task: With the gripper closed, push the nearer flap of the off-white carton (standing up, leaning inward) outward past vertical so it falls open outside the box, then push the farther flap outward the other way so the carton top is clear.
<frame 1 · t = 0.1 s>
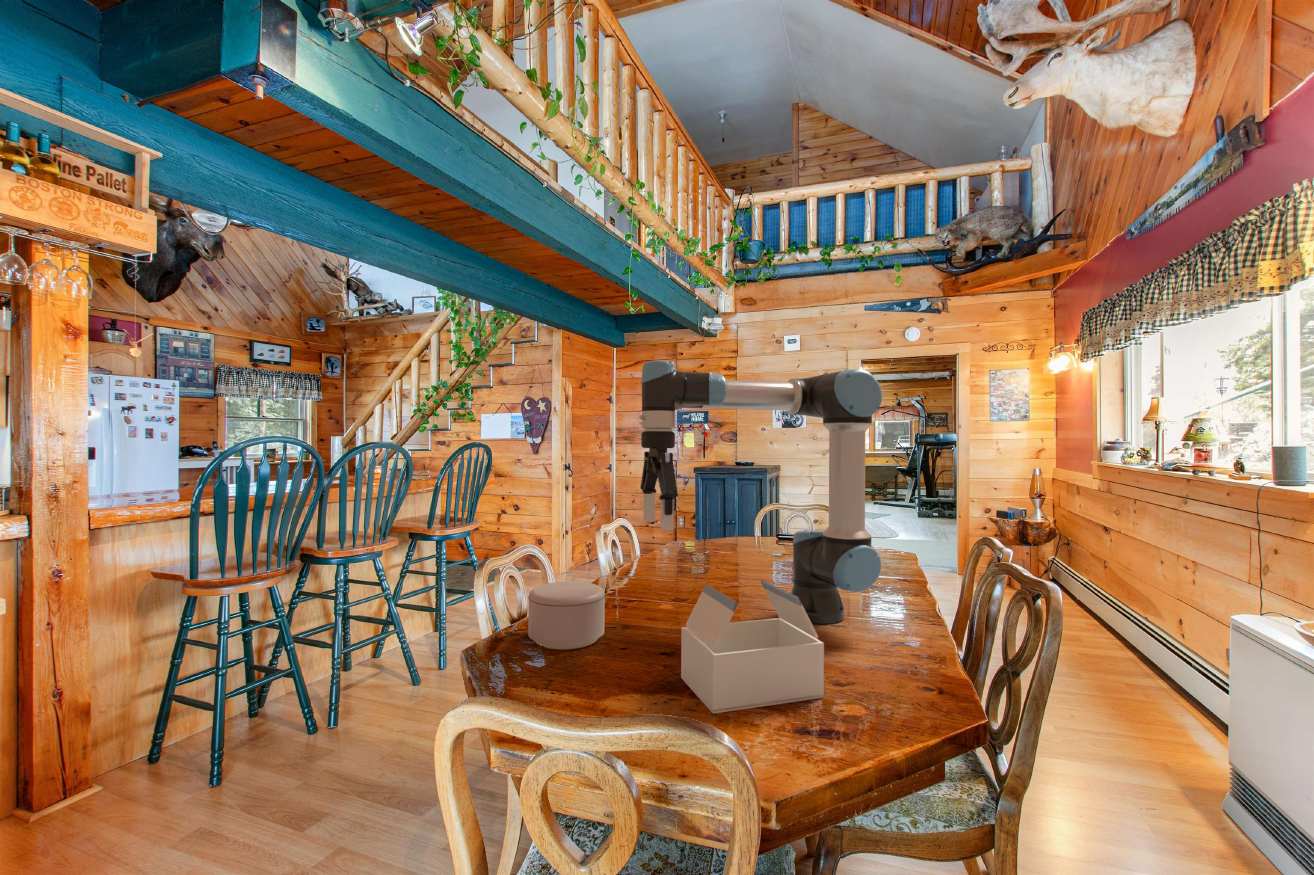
hand: (657, 525, 132), 28 cm above the table, fingers open, 13 cm apart
flap 1: (710, 614, 110), point 15 cm above the table, hinge at 61.0°
flap 2: (788, 607, 115), point 15 cm above the table, hinge at 61.0°
container: (566, 639, 140), on the table
carton: (749, 687, 113), on the table
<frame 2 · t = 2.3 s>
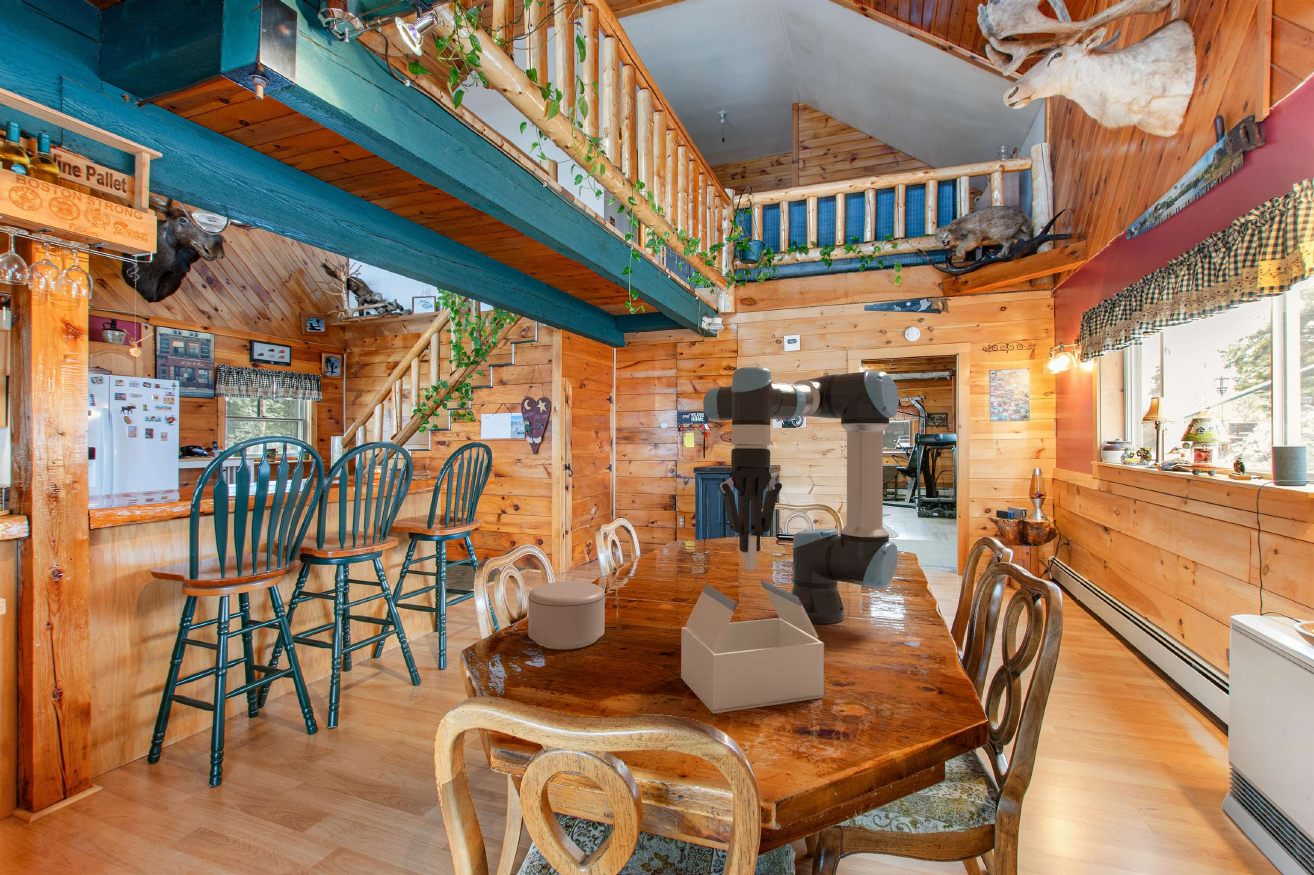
hand: (749, 568, 115), 22 cm above the table, fingers closed
nothing on the table moved.
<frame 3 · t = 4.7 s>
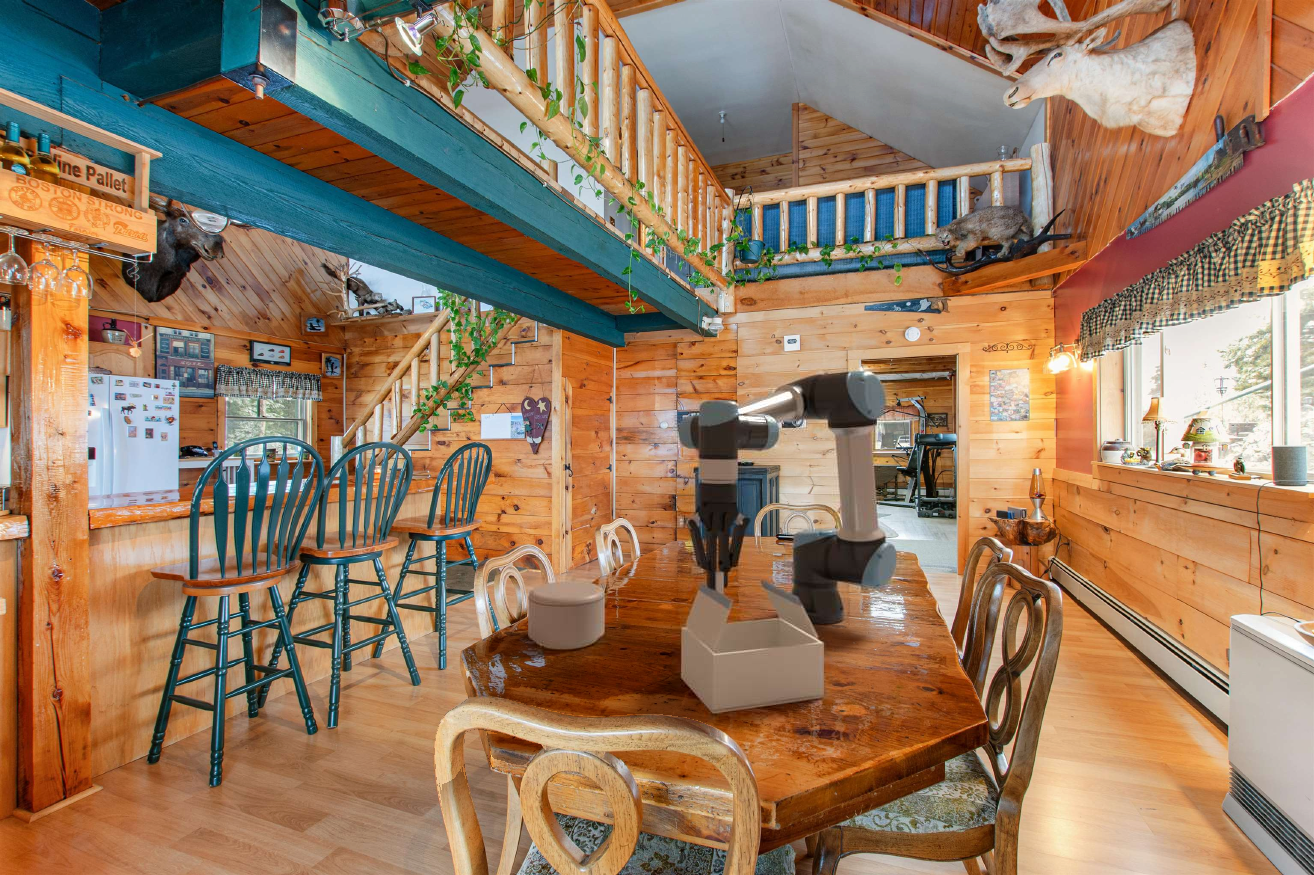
hand: (717, 605, 113), 16 cm above the table, fingers closed
flap 1: (708, 613, 110), point 15 cm above the table, hinge at 67.8°, touching gripper
everything else where it was.
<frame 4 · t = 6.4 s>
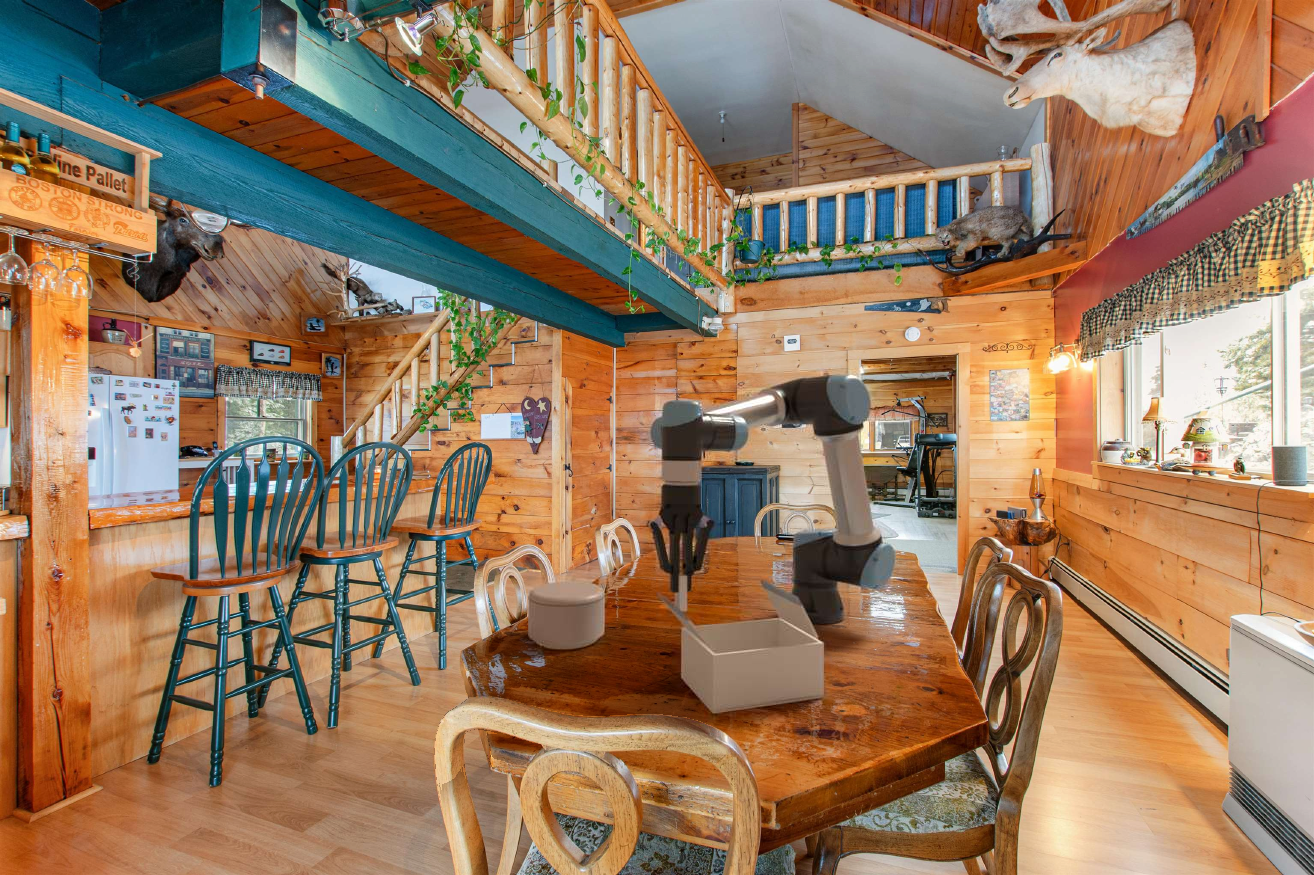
hand: (680, 609, 111), 15 cm above the table, fingers closed
flap 1: (684, 620, 109), point 14 cm above the table, hinge at 130.9°, touching gripper
everything else where it was.
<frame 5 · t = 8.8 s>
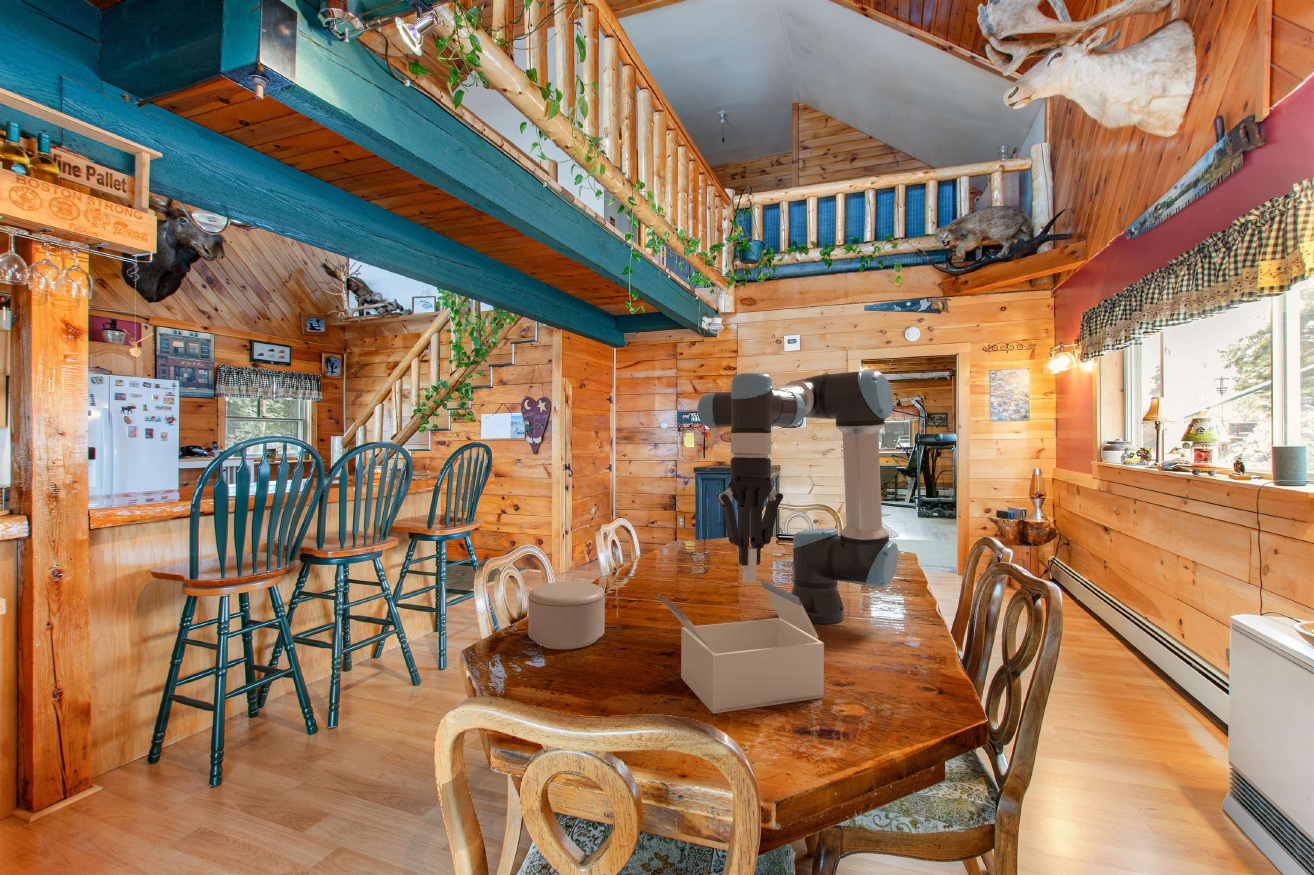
hand: (749, 582, 110), 21 cm above the table, fingers closed
flap 1: (683, 620, 109), point 14 cm above the table, hinge at 131.7°
everything else where it was.
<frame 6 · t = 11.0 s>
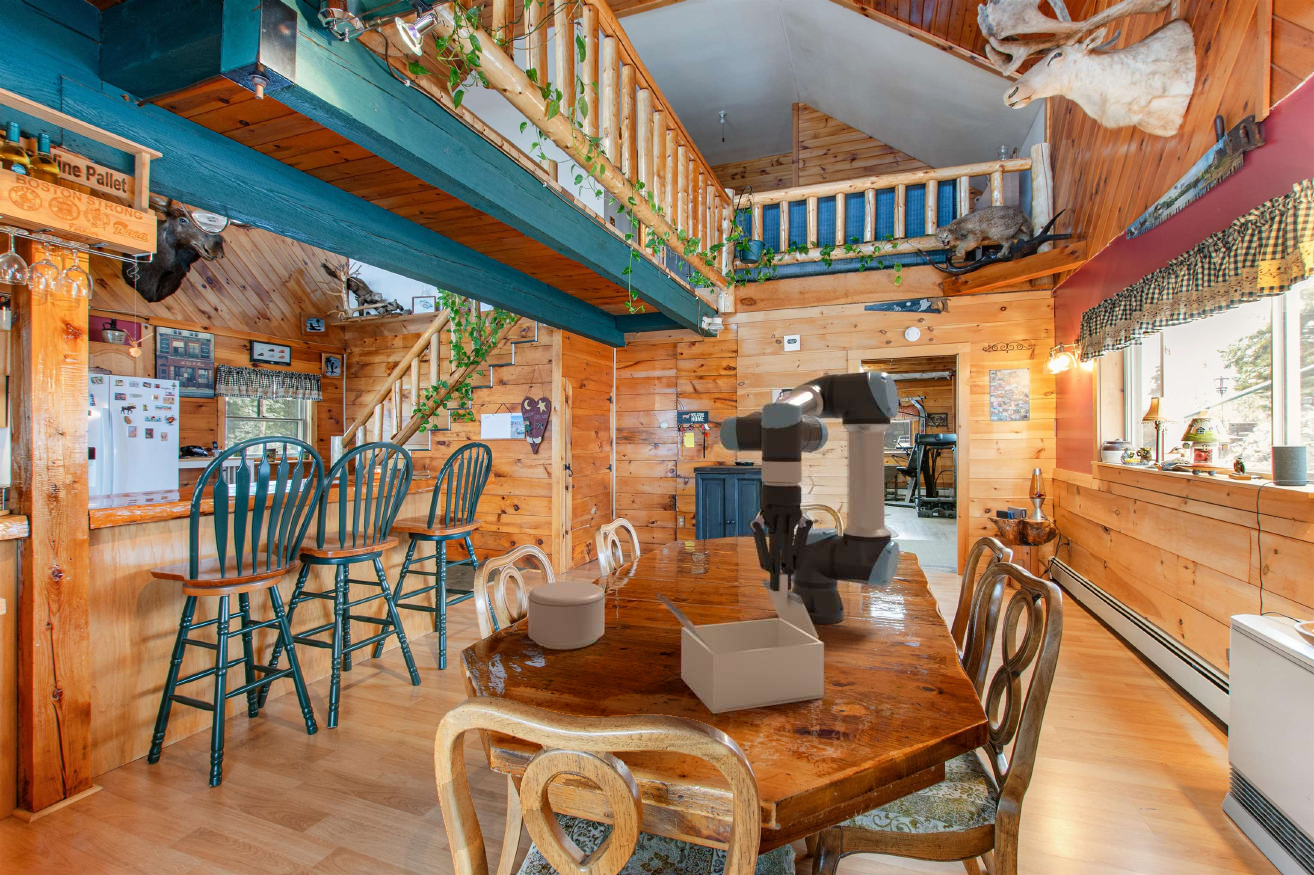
hand: (780, 607, 113), 15 cm above the table, fingers closed
flap 2: (788, 607, 115), point 15 cm above the table, hinge at 63.7°, touching gripper
everything else where it was.
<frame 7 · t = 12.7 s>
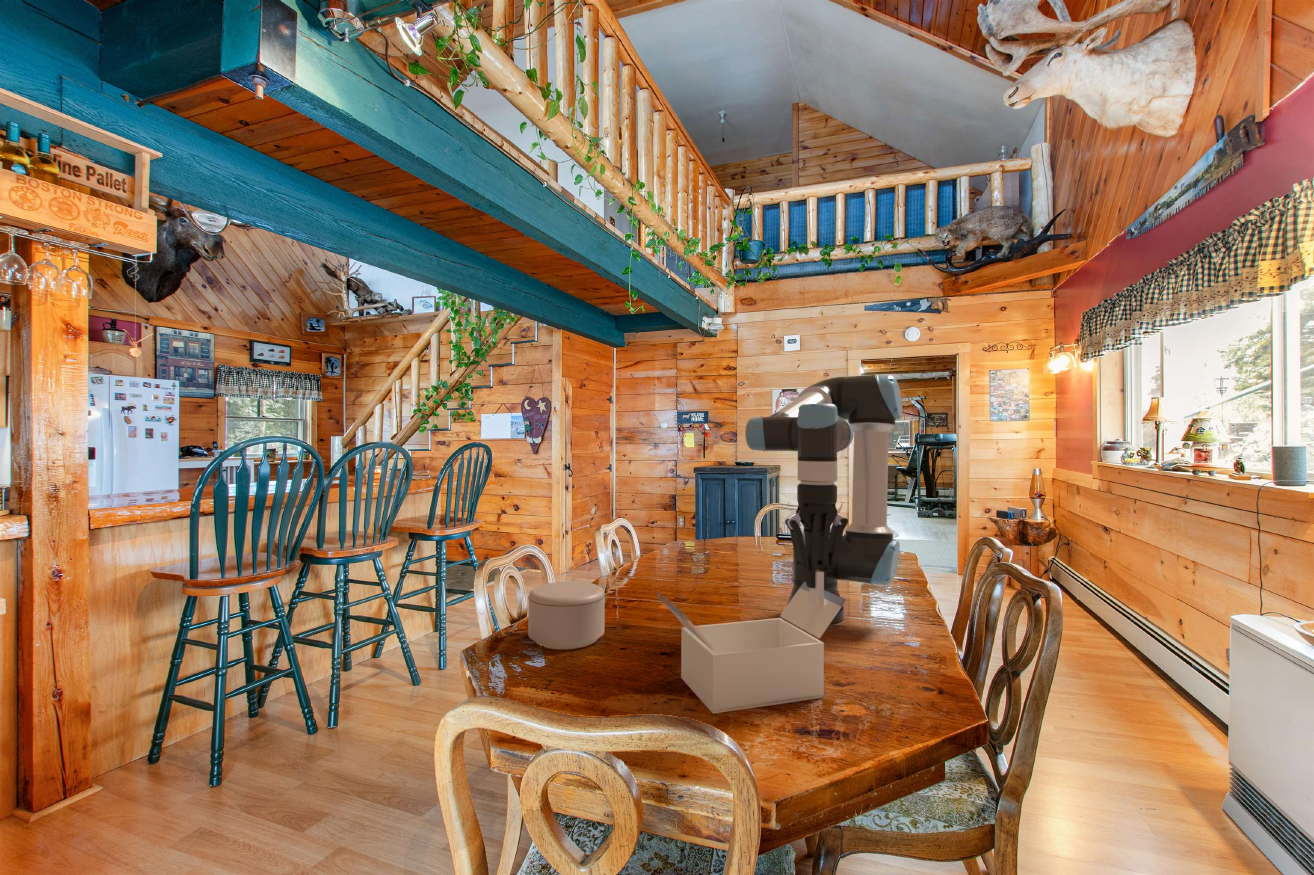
hand: (816, 604, 115), 15 cm above the table, fingers closed
flap 2: (811, 608, 117), point 14 cm above the table, hinge at 130.7°
everything else where it was.
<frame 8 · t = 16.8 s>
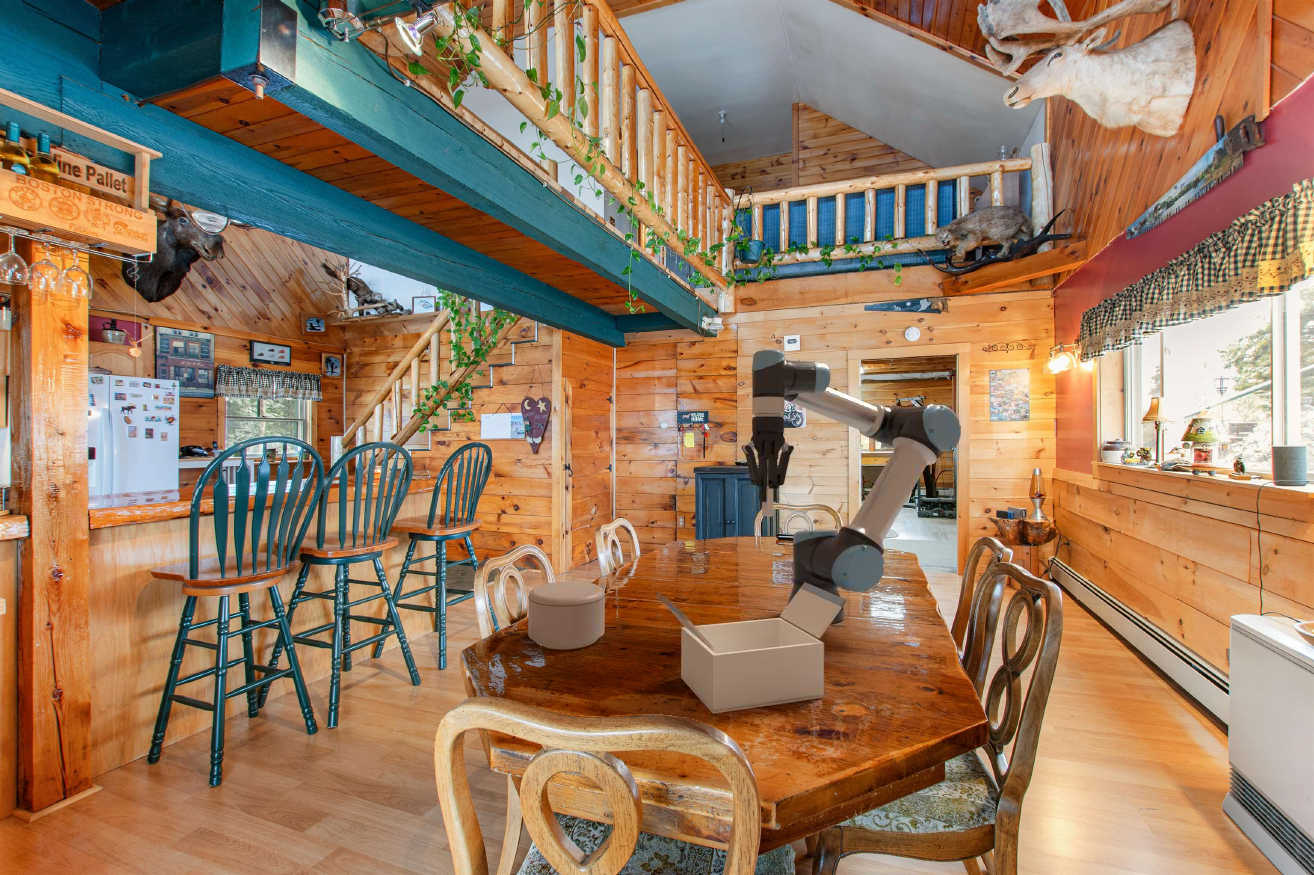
hand: (767, 515, 140), 29 cm above the table, fingers closed
flap 2: (811, 608, 117), point 14 cm above the table, hinge at 131.9°
everything else where it was.
at the end: flap 1 at +132° (first picture: +61°); flap 2 at +132° (first picture: +61°) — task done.
